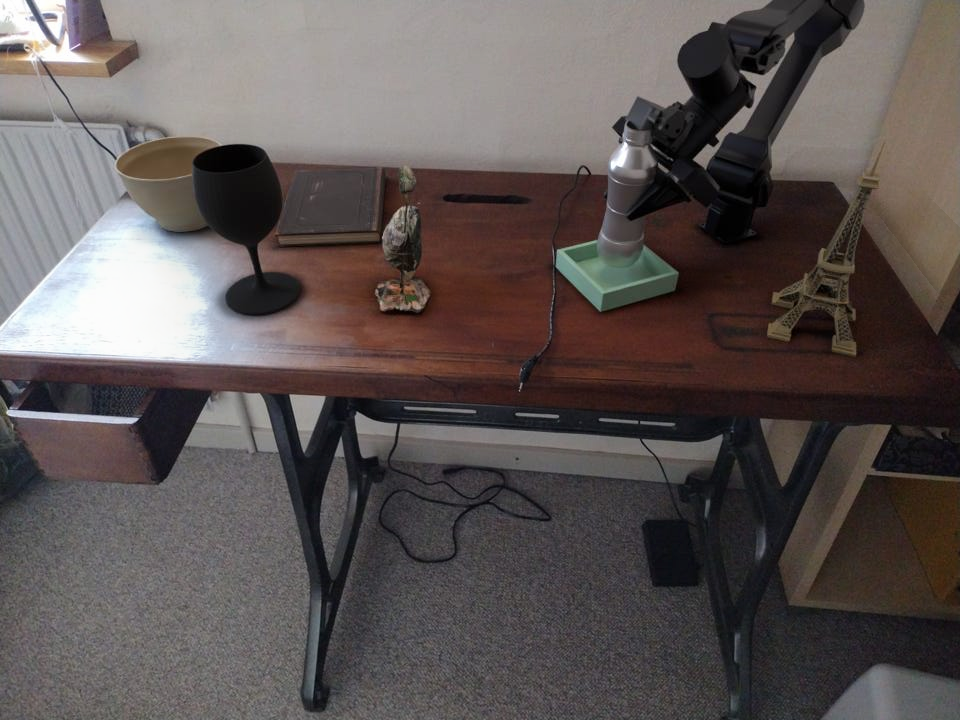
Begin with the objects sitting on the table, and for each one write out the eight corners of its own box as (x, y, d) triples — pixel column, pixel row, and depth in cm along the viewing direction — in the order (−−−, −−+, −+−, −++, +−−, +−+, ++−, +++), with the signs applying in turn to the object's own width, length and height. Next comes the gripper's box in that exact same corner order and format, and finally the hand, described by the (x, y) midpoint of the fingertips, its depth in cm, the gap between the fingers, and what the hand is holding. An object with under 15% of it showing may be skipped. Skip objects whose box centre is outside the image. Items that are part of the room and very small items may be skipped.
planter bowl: (118, 241, 105) (92, 175, 98) (167, 194, 117) (147, 133, 110) (216, 247, 104) (197, 181, 97) (255, 199, 116) (240, 138, 109)
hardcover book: (277, 247, 104) (274, 234, 102) (297, 181, 121) (295, 169, 120) (381, 243, 105) (380, 230, 103) (386, 178, 122) (384, 166, 121)
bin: (625, 249, 103) (628, 232, 101) (675, 290, 95) (679, 272, 93) (555, 267, 99) (556, 249, 98) (600, 312, 91) (603, 293, 89)
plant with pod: (441, 274, 98) (435, 141, 85) (422, 320, 89) (412, 180, 76) (387, 269, 99) (373, 137, 86) (363, 313, 90) (344, 174, 78)
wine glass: (234, 324, 89) (192, 183, 76) (218, 285, 96) (178, 150, 83) (310, 303, 92) (283, 165, 79) (290, 267, 99) (262, 135, 87)
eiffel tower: (766, 336, 87) (832, 150, 71) (773, 293, 94) (833, 116, 78) (855, 356, 84) (945, 166, 67) (854, 310, 91) (935, 129, 75)
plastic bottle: (588, 267, 94) (606, 131, 80) (602, 242, 99) (621, 110, 85) (633, 278, 92) (659, 141, 79) (645, 252, 97) (671, 118, 83)
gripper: (634, 51, 87) (551, 146, 91) (719, 100, 73) (617, 208, 78) (676, 105, 94) (597, 190, 98) (761, 157, 80) (664, 254, 85)
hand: (616, 208), depth 89 cm, fingers closed on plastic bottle, 6 cm apart
